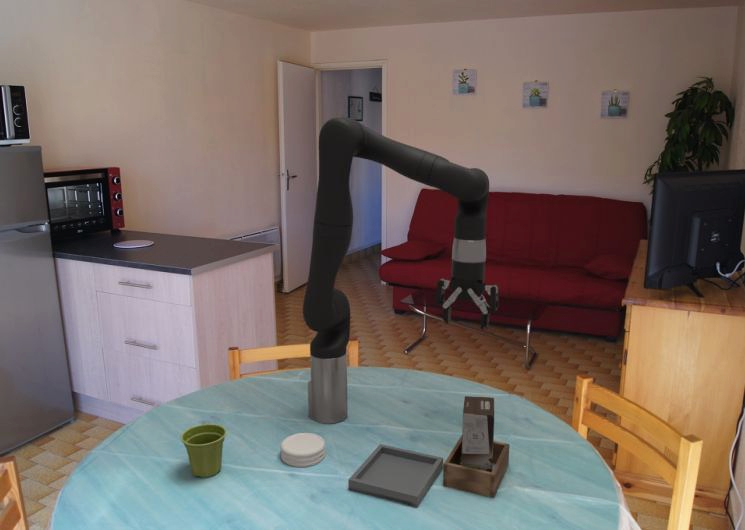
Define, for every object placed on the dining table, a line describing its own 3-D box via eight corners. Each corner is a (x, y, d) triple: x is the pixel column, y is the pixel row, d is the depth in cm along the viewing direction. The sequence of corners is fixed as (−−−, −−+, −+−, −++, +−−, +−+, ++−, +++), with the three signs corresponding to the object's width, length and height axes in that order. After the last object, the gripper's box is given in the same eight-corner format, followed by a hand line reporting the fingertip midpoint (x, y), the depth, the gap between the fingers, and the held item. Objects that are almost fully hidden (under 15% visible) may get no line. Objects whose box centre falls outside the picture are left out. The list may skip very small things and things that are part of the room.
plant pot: (188, 487, 126) (185, 448, 124) (180, 465, 134) (177, 429, 132) (233, 475, 130) (231, 438, 128) (222, 455, 138) (220, 420, 137)
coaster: (333, 451, 140) (333, 437, 139) (309, 472, 132) (309, 457, 131) (297, 442, 145) (297, 428, 144) (272, 461, 136) (271, 447, 136)
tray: (348, 489, 125) (348, 479, 124) (380, 453, 139) (380, 444, 138) (417, 507, 119) (417, 496, 118) (443, 467, 133) (443, 457, 132)
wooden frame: (442, 485, 126) (443, 463, 125) (461, 454, 138) (462, 434, 137) (493, 497, 122) (494, 475, 121) (508, 464, 134) (509, 444, 133)
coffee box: (491, 488, 125) (494, 415, 121) (460, 485, 126) (462, 413, 123) (492, 465, 134) (495, 396, 130) (462, 462, 135) (464, 394, 131)
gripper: (433, 257, 138) (431, 325, 141) (495, 264, 132) (491, 335, 136) (444, 251, 144) (441, 317, 148) (503, 257, 139) (499, 325, 142)
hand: (465, 325), depth 142 cm, fingers open, 8 cm apart
